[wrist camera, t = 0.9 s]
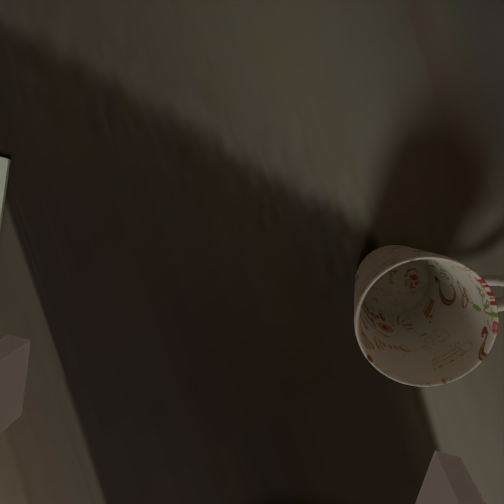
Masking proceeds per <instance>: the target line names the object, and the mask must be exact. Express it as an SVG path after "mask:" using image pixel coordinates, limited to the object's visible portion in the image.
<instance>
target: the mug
mask: <svg viewBox="0 0 504 504" xmlns="http://www.w3.org/2000/svg"><path fill="white" fill-rule="evenodd" d="M489 286H504V275H479V274H478V273H477V272H476V271H474V270H473V269H472V268H470V267H469V266H467V265H466V264H464V263H462V262H460V261H458V260H455V259H453V258H450V257H447V256H444V255H440V254H435V253H431V252H427V251H423V250H419V249H415V248H411V247H406V246H401V245H388V246H384V247H380V248H378V249H376V250H374V251H372V252H371V253H369V254H368V255H367V256H366V257H365V258H364V259H363V261H362V262H361V264H360V265H359V268H358V270H357V273H356V278H355V301H354V327H355V333H356V337H357V340H358V343H359V346H360V348H361V350H362V352H363V353H364V355H365V357H366V358H367V359H368V361H369V362H370V363H371V364H372V365H373V366H374V367H375V368H376V369H377V370H378V371H380V372H381V373H382V374H384V375H386V376H387V377H389V378H391V379H393V380H395V381H398V382H400V383H404V384H407V385H412V386H437V385H442V384H446V383H449V382H452V381H455V380H457V379H459V378H461V377H463V376H465V375H466V374H468V373H469V372H471V371H472V370H473V369H475V368H476V367H477V366H478V365H479V364H480V363H481V362H482V361H483V360H484V358H485V357H486V356H487V354H488V353H489V351H490V349H491V348H492V346H493V343H494V341H495V338H496V335H497V330H498V322H499V316H498V311H504V297H500V298H494V295H493V293H492V291H491V289H490V288H489Z"/></svg>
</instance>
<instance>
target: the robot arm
mask: <svg viewBox="0 0 504 504" xmlns="http://www.w3.org/2000/svg"><path fill="white" fill-rule="evenodd" d="M29 349H30V340H26V339H23V338H19V337H15V336H12V335H7V336H5V337H3V338H2V339H0V433H1V432H3V431H4V430H5V429H6V428H7V427H8V426H9V425H10V424H12V423H13V422H14V421H15V420H16V419H17V418H18V417H19V416H21V415H22V407H23V399H24V390H25V382H26V374H27V365H28V357H29ZM415 504H485V503H484V501H483V499H482V497H481V495H480V493H479V491H478V489H477V488H476V486H475V484H474V482H473V480H472V478H471V476H470V475H469V473H468V471H467V469H466V467H465V465H464V463H463V462H462V460H461V458H460V457H457V456H453V455H450V454H446V453H442V452H439V451H435V452H434V455H433V457H432V460H431V463H430V465H429V468H428V471H427V474H426V476H425V479H424V482H423V484H422V487H421V490H420V492H419V495H418V498H417V501H416V503H415Z"/></svg>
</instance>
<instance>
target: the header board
mask: <svg viewBox="0 0 504 504" xmlns="http://www.w3.org/2000/svg"><path fill="white" fill-rule="evenodd" d="M10 161H11V159H8V158H5V157H1V156H0V234H1V227H2V219H3V212H4V205H5V197H6V190H7V183H8V176H9V168H10Z"/></svg>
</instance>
